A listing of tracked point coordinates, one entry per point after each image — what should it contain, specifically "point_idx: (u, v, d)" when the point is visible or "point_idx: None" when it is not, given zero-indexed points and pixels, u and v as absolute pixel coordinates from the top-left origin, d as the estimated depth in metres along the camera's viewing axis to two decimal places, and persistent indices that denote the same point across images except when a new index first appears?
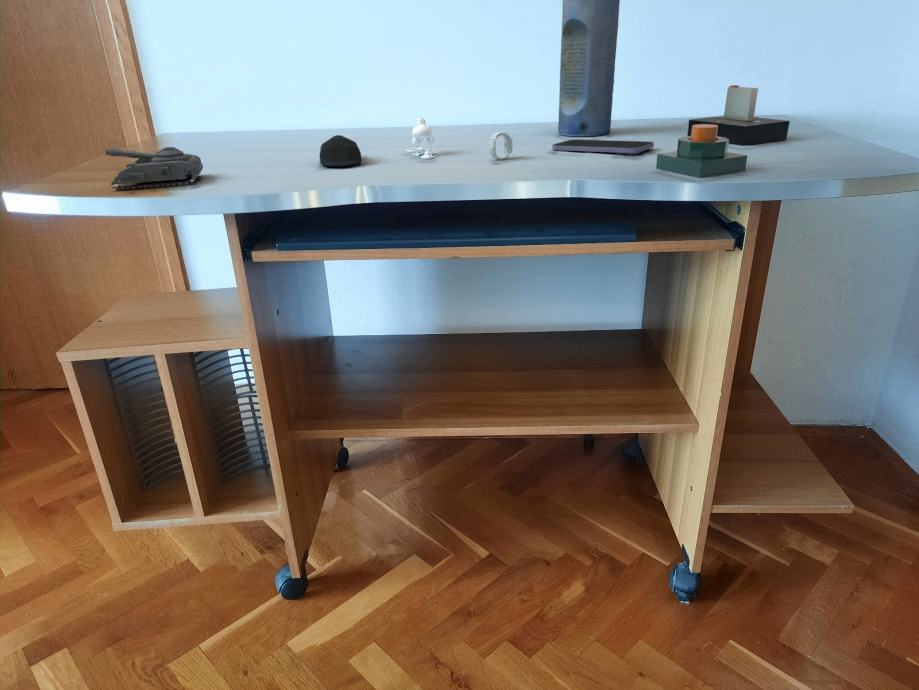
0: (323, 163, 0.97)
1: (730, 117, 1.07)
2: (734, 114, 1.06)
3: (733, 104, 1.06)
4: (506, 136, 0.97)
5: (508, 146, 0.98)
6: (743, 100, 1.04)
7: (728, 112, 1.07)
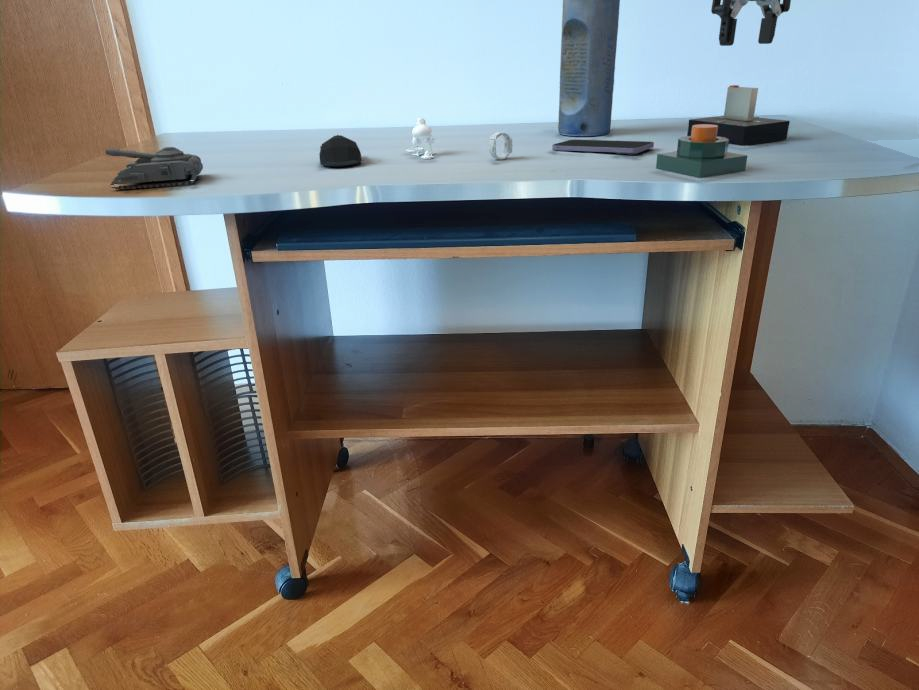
0: (323, 163, 0.97)
1: (730, 117, 1.07)
2: (734, 114, 1.06)
3: (733, 104, 1.06)
4: (506, 136, 0.97)
5: (508, 146, 0.98)
6: (743, 100, 1.04)
7: (728, 112, 1.07)
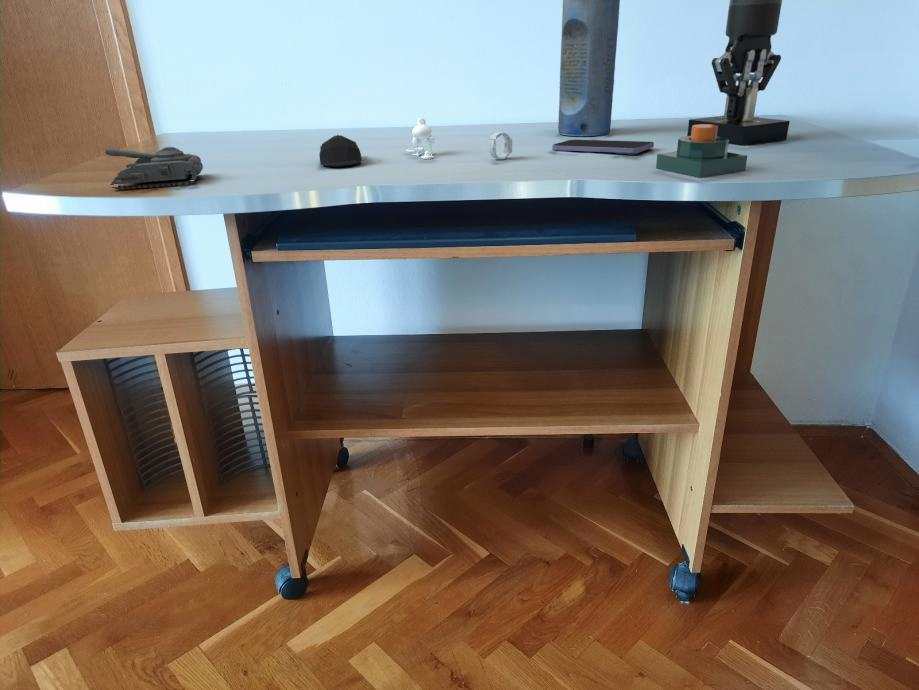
0: (323, 163, 0.97)
1: None
2: None
3: None
4: (506, 136, 0.97)
5: (508, 146, 0.98)
6: (743, 100, 1.04)
7: None
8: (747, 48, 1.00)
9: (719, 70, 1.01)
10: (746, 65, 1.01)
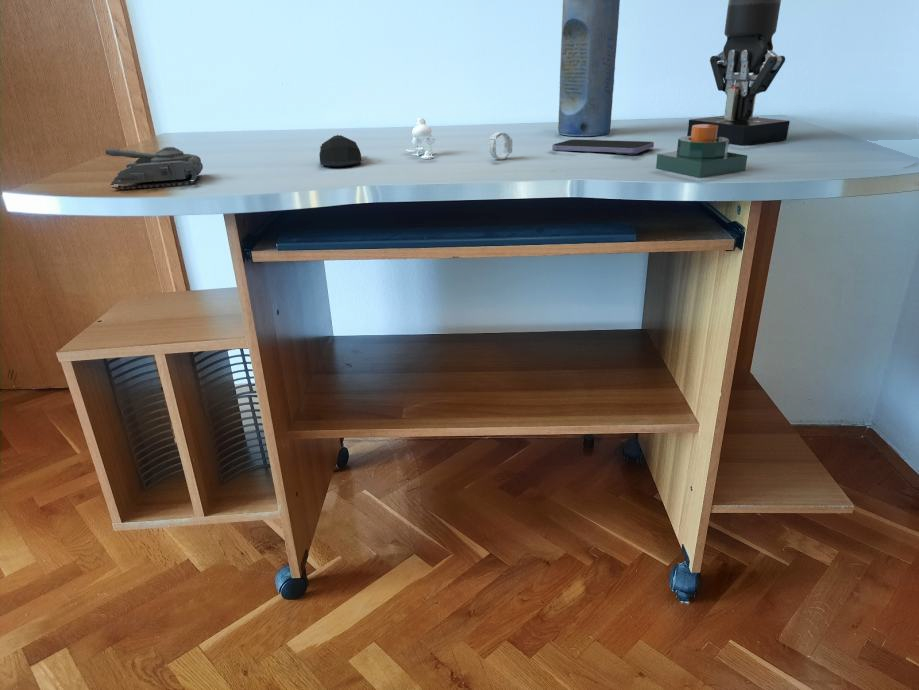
0: (323, 163, 0.97)
1: (736, 119, 1.05)
2: None
3: None
4: (506, 136, 0.97)
5: (508, 146, 0.98)
6: None
7: (735, 114, 1.05)
8: None
9: (774, 68, 0.98)
10: None
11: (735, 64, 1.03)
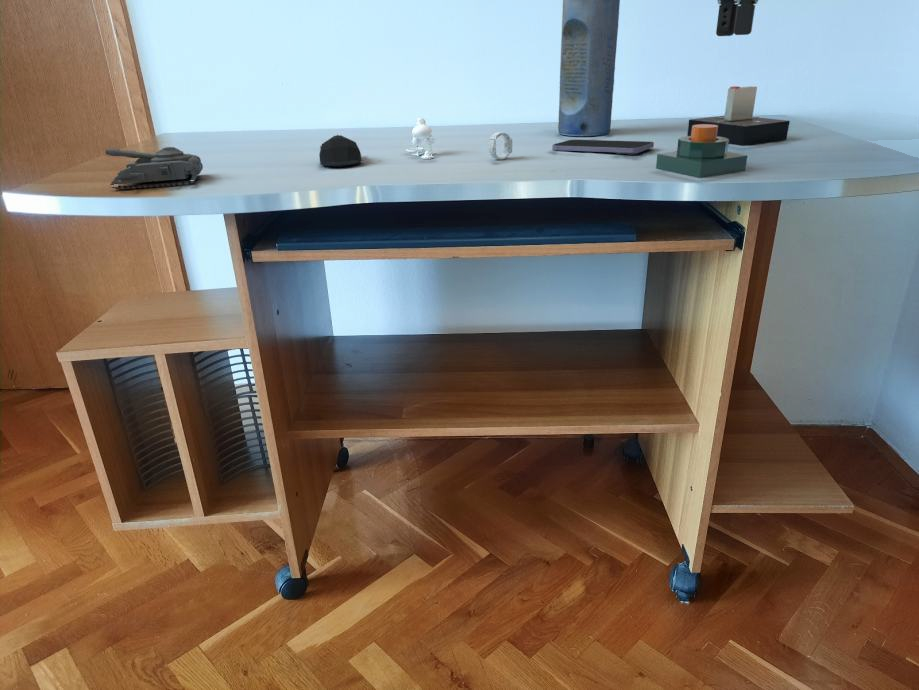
0: (323, 163, 0.97)
1: (736, 119, 1.05)
2: (741, 114, 1.05)
3: (740, 105, 1.05)
4: (506, 136, 0.97)
5: (508, 146, 0.98)
6: (749, 99, 1.05)
7: (735, 114, 1.05)
8: None
9: None
10: None
11: None
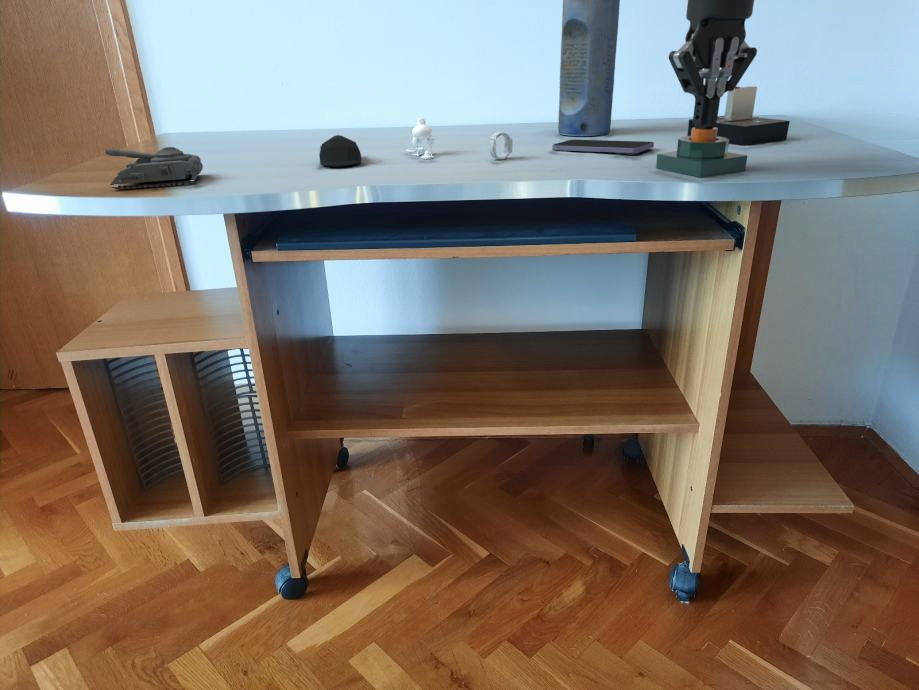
0: (323, 163, 0.97)
1: (736, 119, 1.05)
2: (741, 114, 1.05)
3: (740, 105, 1.05)
4: (506, 136, 0.97)
5: (508, 146, 0.98)
6: (749, 99, 1.05)
7: (735, 114, 1.05)
8: (713, 35, 0.77)
9: (679, 66, 0.78)
10: (714, 58, 0.78)
11: None
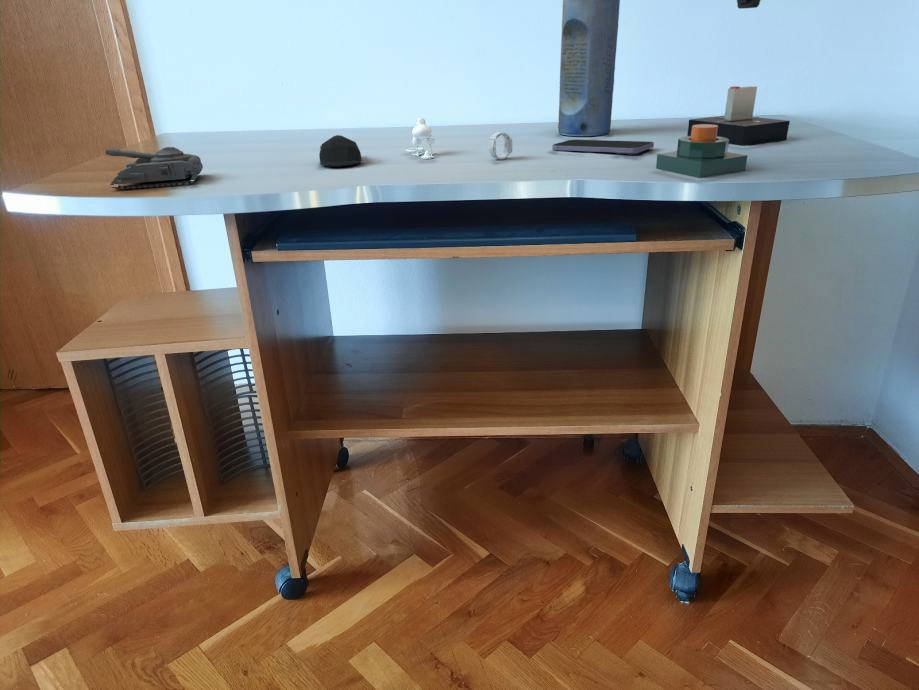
0: (323, 163, 0.97)
1: (736, 119, 1.05)
2: (741, 114, 1.05)
3: (740, 105, 1.05)
4: (506, 136, 0.97)
5: (508, 146, 0.98)
6: (749, 99, 1.05)
7: (735, 114, 1.05)
8: None
9: None
10: None
11: None
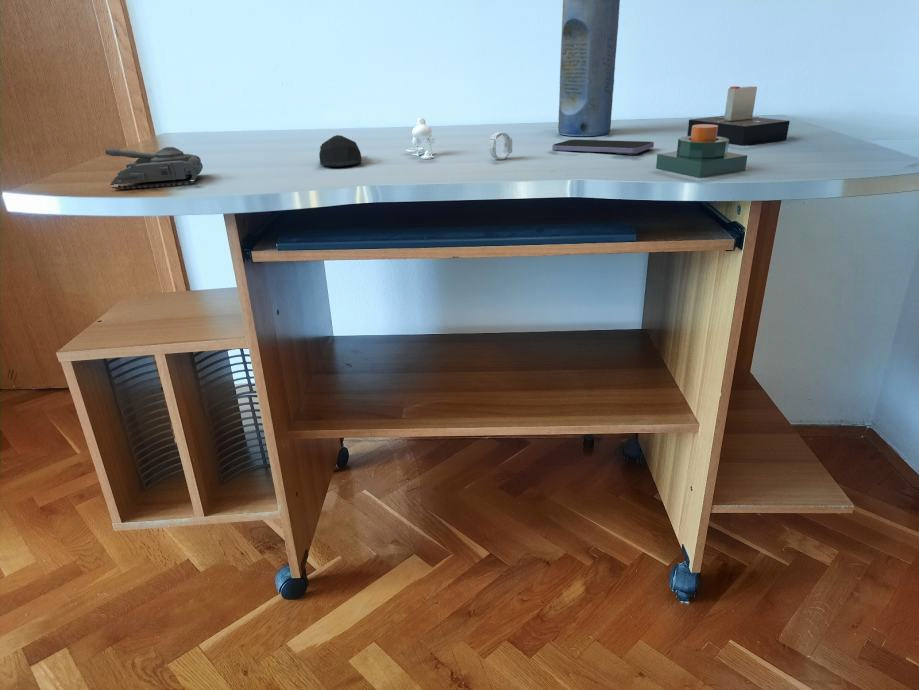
0: (323, 163, 0.97)
1: (736, 119, 1.05)
2: (741, 114, 1.05)
3: (740, 105, 1.05)
4: (506, 136, 0.97)
5: (508, 146, 0.98)
6: (749, 99, 1.05)
7: (735, 114, 1.05)
8: None
9: None
10: None
11: None
